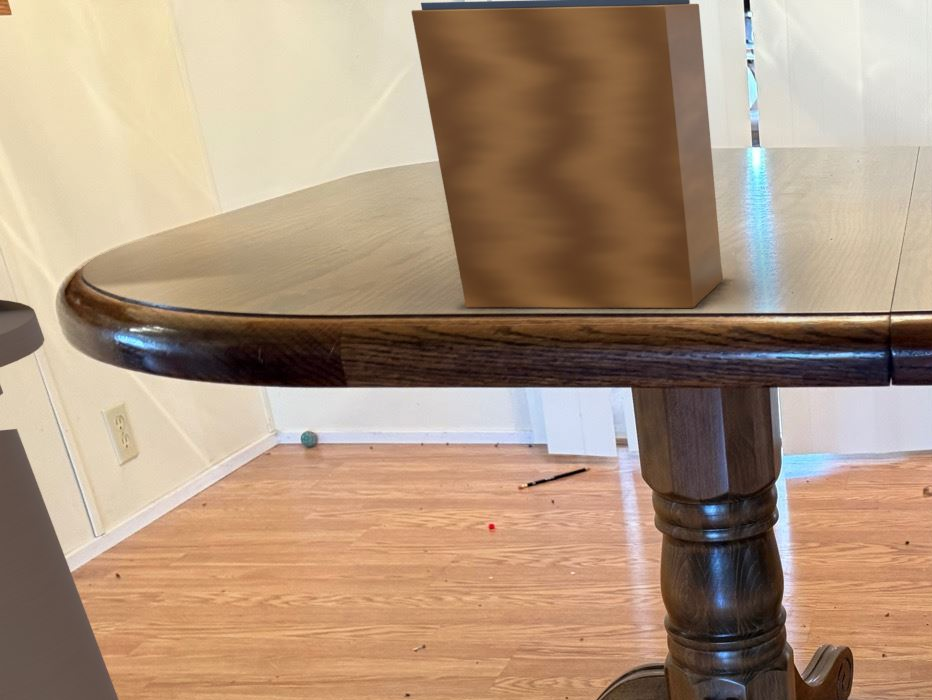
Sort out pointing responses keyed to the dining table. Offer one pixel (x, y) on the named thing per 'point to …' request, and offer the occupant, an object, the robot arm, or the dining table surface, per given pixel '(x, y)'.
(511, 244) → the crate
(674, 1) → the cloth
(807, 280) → the dining table surface
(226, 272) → the dining table surface
